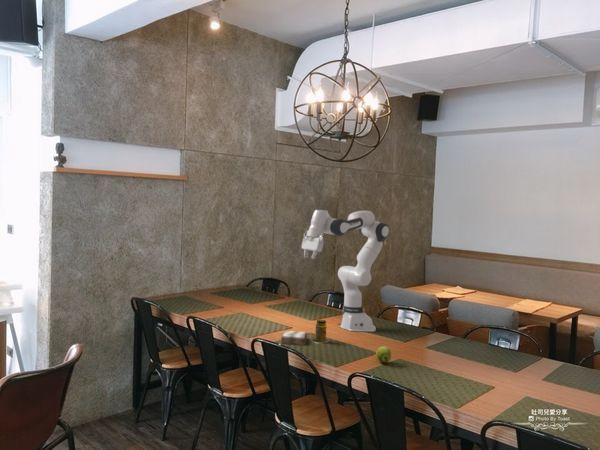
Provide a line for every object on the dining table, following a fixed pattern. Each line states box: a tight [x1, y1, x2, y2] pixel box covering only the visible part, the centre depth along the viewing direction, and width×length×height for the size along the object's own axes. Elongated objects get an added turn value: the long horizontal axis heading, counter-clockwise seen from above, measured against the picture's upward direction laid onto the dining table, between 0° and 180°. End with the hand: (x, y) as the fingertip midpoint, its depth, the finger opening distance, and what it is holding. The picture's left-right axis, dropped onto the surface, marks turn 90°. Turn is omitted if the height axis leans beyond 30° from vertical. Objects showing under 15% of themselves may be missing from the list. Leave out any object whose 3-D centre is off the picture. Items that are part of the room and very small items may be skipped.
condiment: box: [309, 319, 329, 345], centre depth 285 cm, size 7×8×12 cm
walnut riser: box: [280, 330, 308, 346], centre depth 284 cm, size 13×13×4 cm
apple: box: [375, 345, 392, 364], centre depth 253 cm, size 8×9×8 cm
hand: (308, 258), depth 292 cm, fingers open, 8 cm apart
